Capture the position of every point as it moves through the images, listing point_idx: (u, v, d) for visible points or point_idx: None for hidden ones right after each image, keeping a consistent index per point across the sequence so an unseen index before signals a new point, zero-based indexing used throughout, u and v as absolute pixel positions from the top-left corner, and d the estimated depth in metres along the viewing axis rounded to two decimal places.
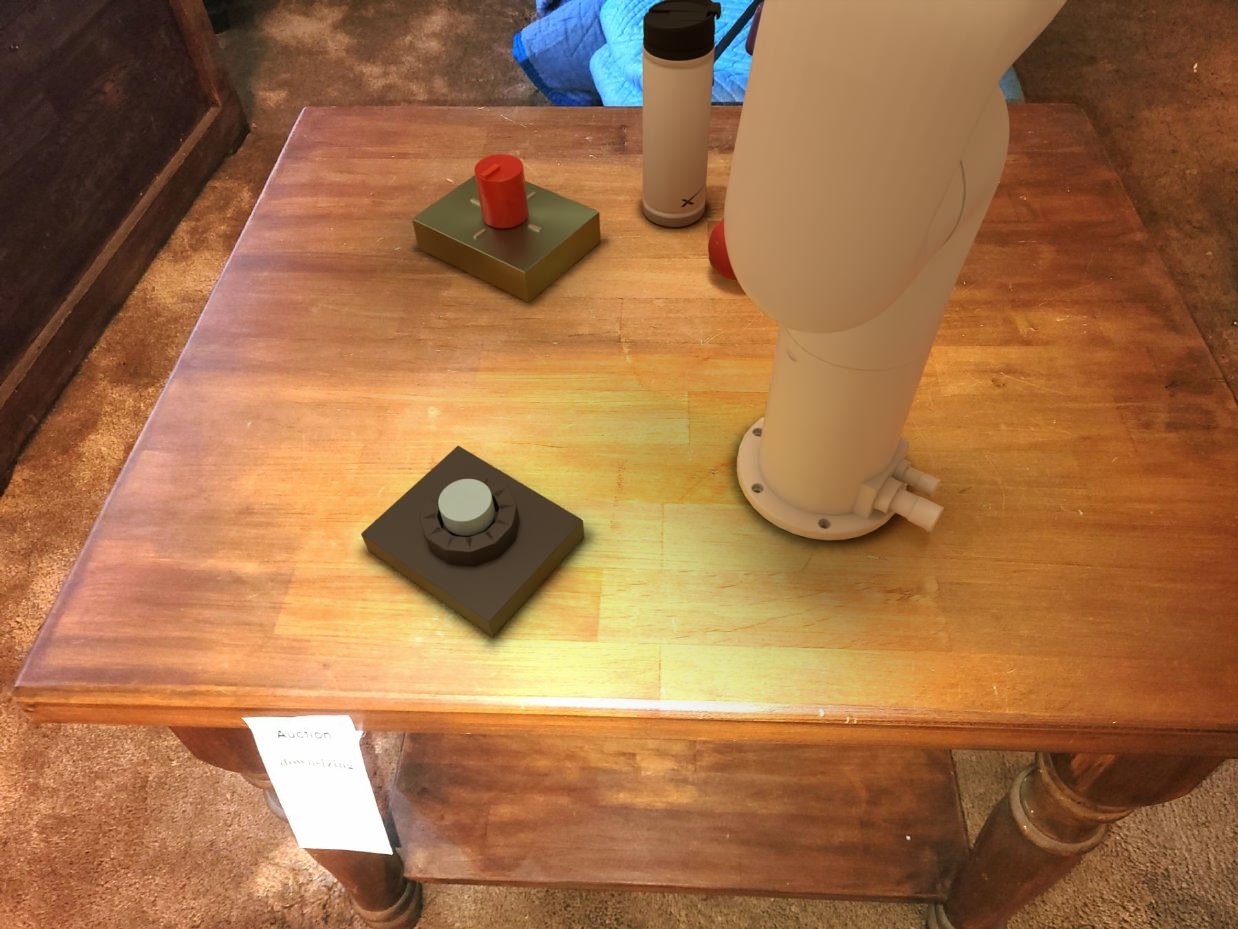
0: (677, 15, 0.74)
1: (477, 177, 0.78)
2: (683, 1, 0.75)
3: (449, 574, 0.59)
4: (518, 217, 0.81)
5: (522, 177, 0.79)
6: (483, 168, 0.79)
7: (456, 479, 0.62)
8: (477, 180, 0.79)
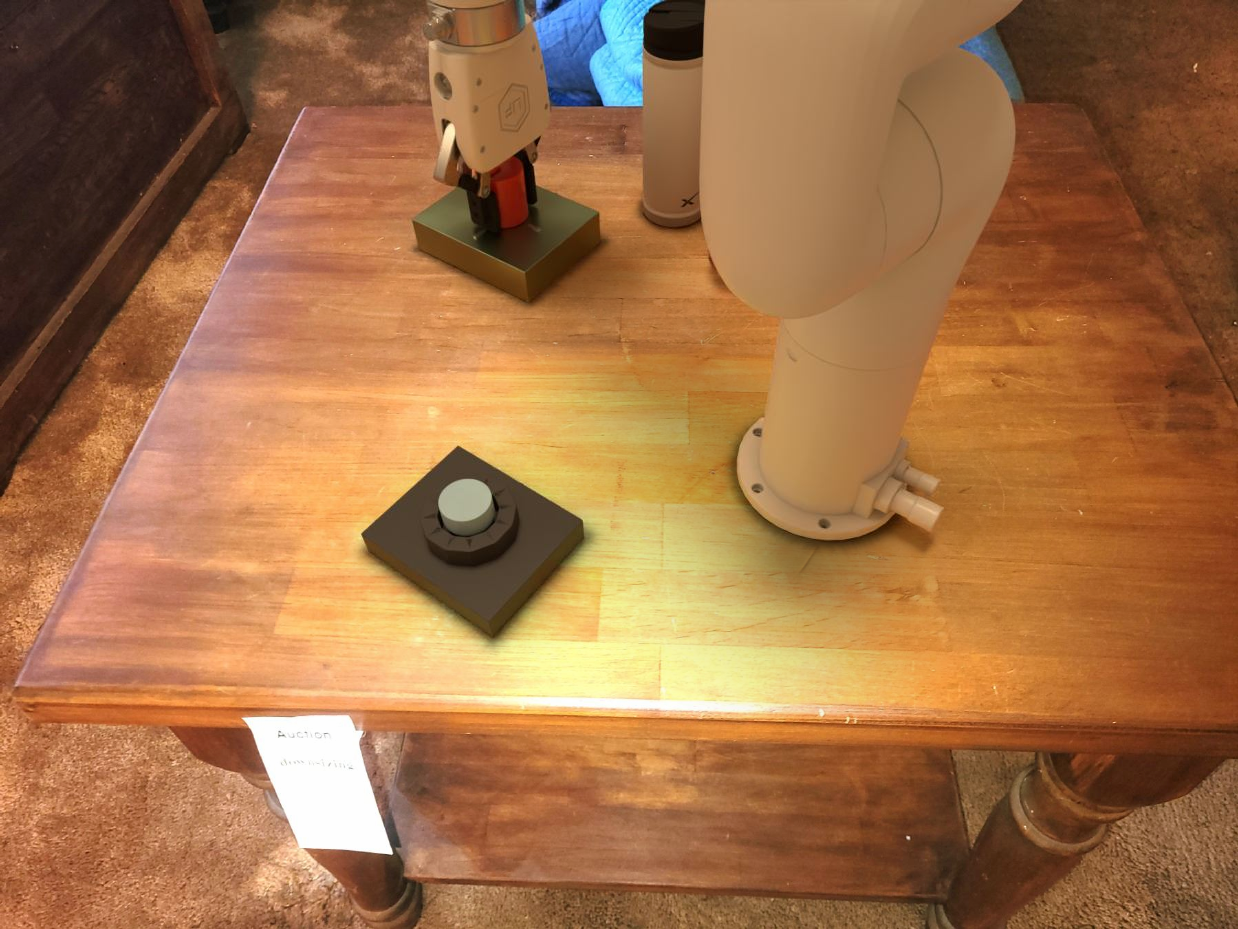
0: (677, 15, 0.74)
1: None
2: (683, 1, 0.75)
3: (449, 574, 0.59)
4: (518, 217, 0.81)
5: (522, 177, 0.79)
6: None
7: (456, 479, 0.62)
8: None
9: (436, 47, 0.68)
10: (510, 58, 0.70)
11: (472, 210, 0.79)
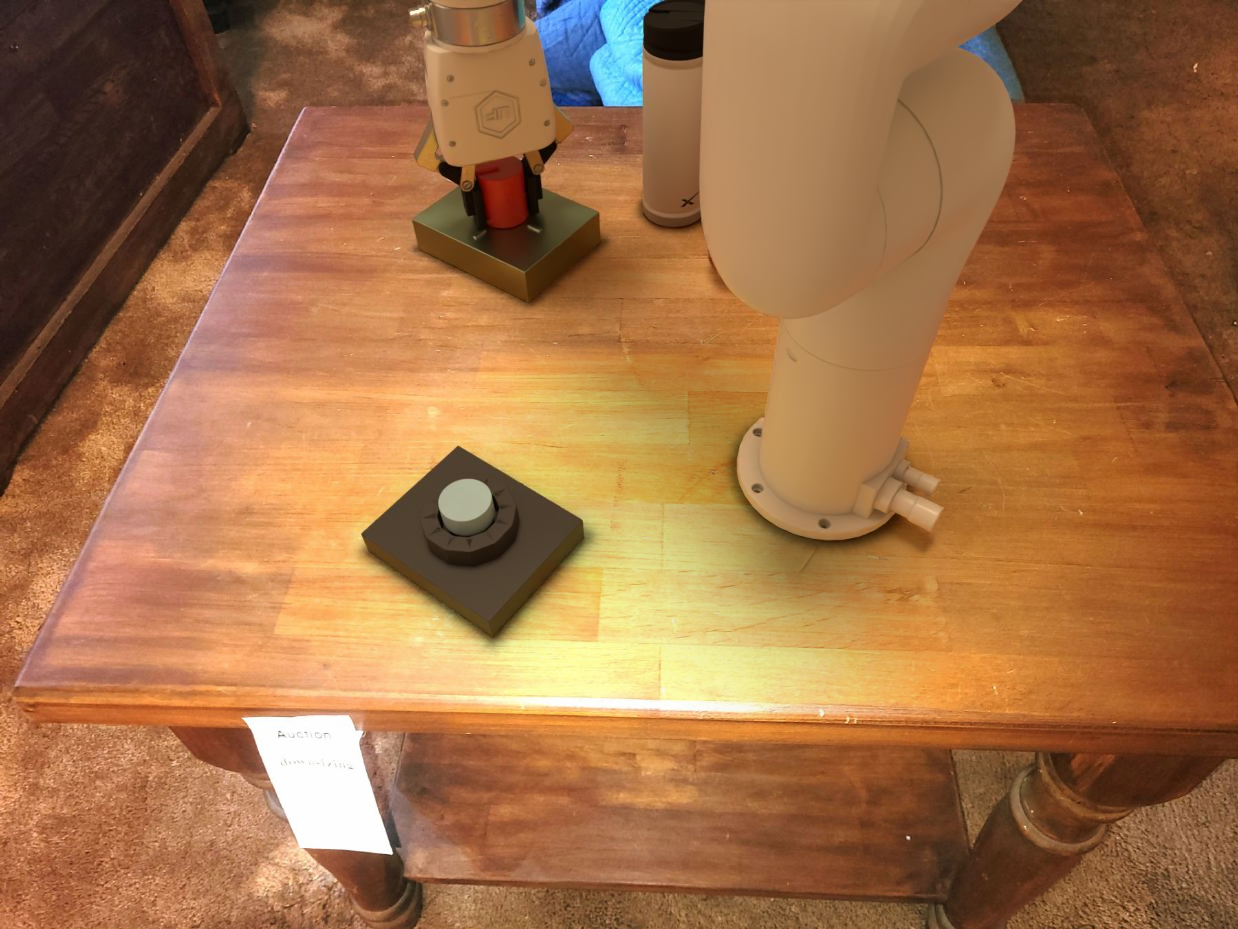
0: (677, 15, 0.74)
1: None
2: (683, 1, 0.75)
3: (449, 574, 0.59)
4: (506, 221, 0.81)
5: (514, 184, 0.78)
6: (485, 163, 0.79)
7: (456, 479, 0.62)
8: None
9: (427, 35, 0.69)
10: (495, 65, 0.69)
11: (463, 199, 0.80)
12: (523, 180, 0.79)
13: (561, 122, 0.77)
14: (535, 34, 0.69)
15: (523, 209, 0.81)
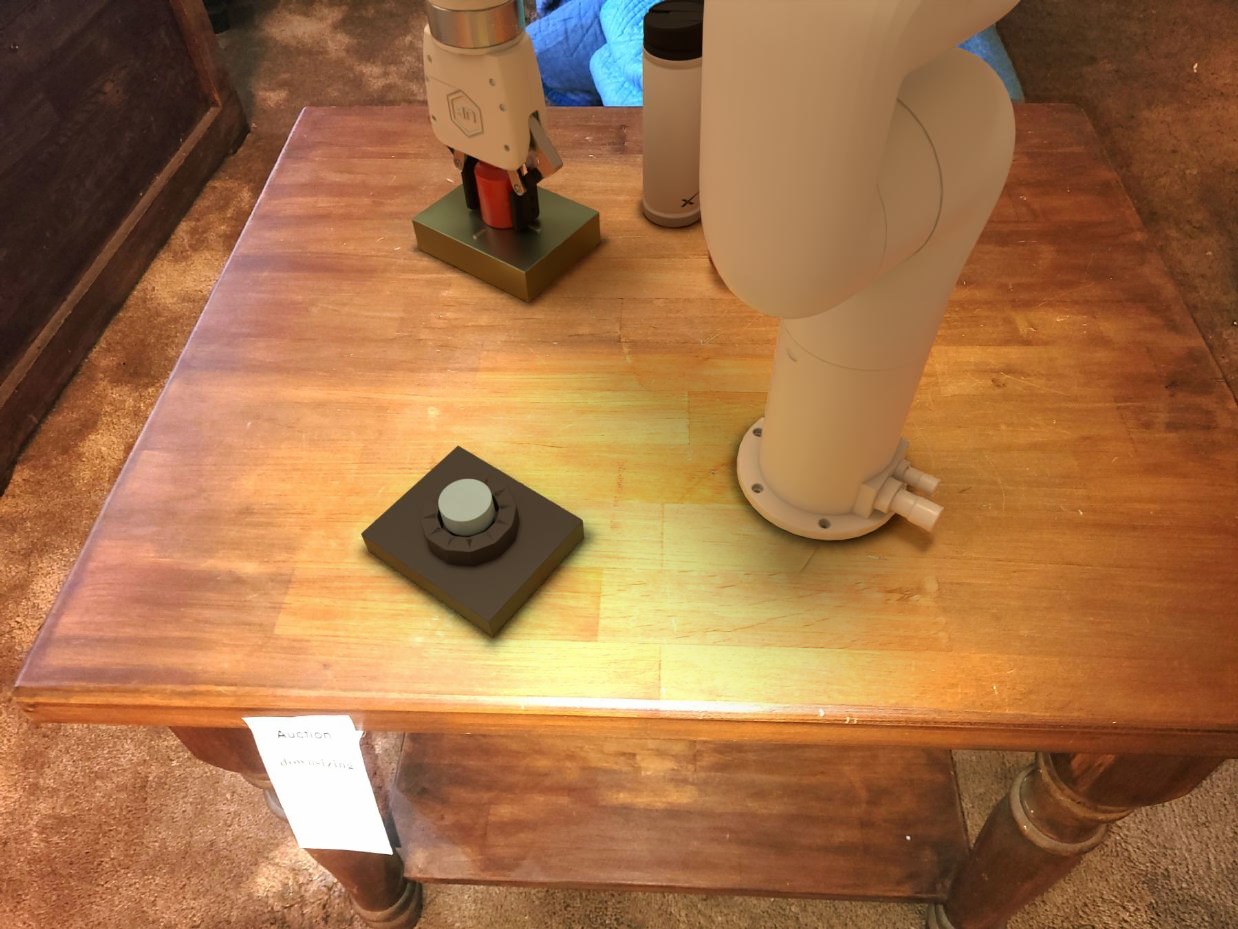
0: (677, 15, 0.74)
1: None
2: (683, 1, 0.75)
3: (449, 574, 0.59)
4: (485, 216, 0.81)
5: (491, 187, 0.78)
6: None
7: (456, 479, 0.62)
8: None
9: None
10: (460, 67, 0.69)
11: None
12: (507, 191, 0.78)
13: (543, 158, 0.74)
14: (499, 58, 0.67)
15: (503, 217, 0.80)
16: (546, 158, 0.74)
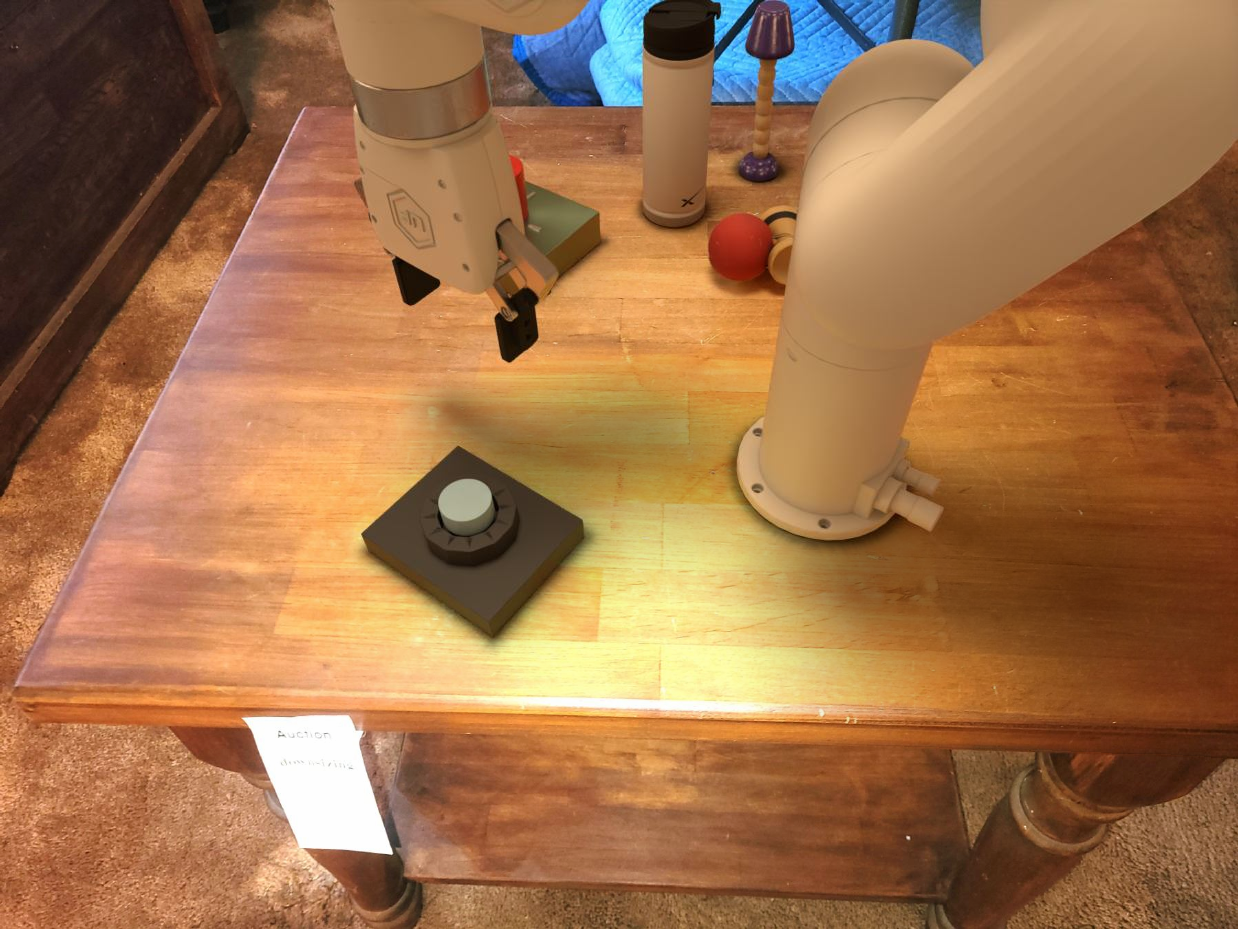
0: (677, 15, 0.74)
1: None
2: (683, 1, 0.75)
3: (449, 574, 0.59)
4: None
5: None
6: None
7: (456, 479, 0.62)
8: None
9: None
10: (400, 161, 0.50)
11: None
12: None
13: (527, 269, 0.52)
14: (450, 154, 0.48)
15: None
16: (530, 267, 0.52)
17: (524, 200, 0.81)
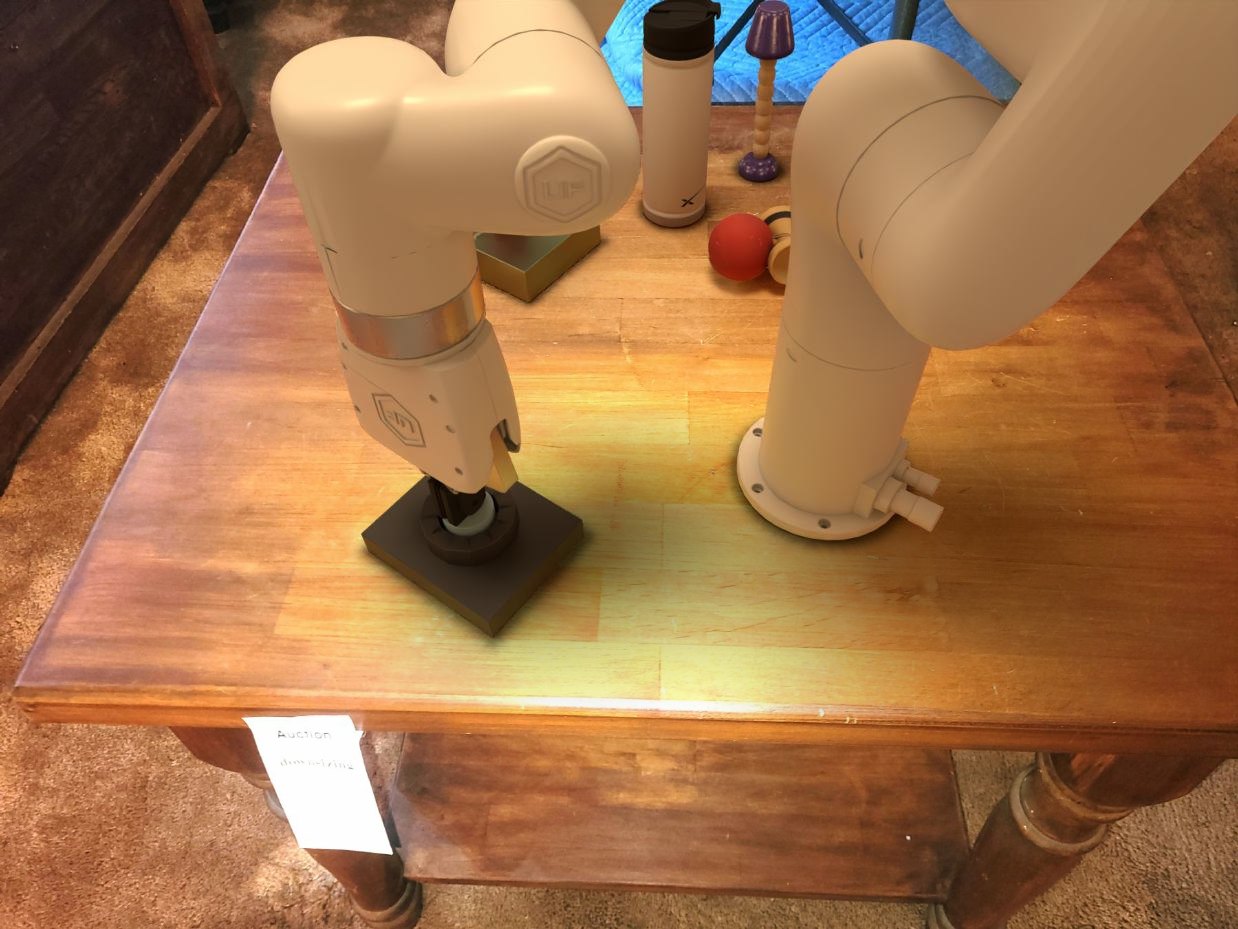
0: (677, 15, 0.74)
1: None
2: (683, 1, 0.75)
3: (449, 574, 0.59)
4: None
5: None
6: None
7: None
8: None
9: None
10: (387, 371, 0.46)
11: None
12: None
13: (493, 475, 0.52)
14: (443, 373, 0.44)
15: None
16: (498, 478, 0.52)
17: None
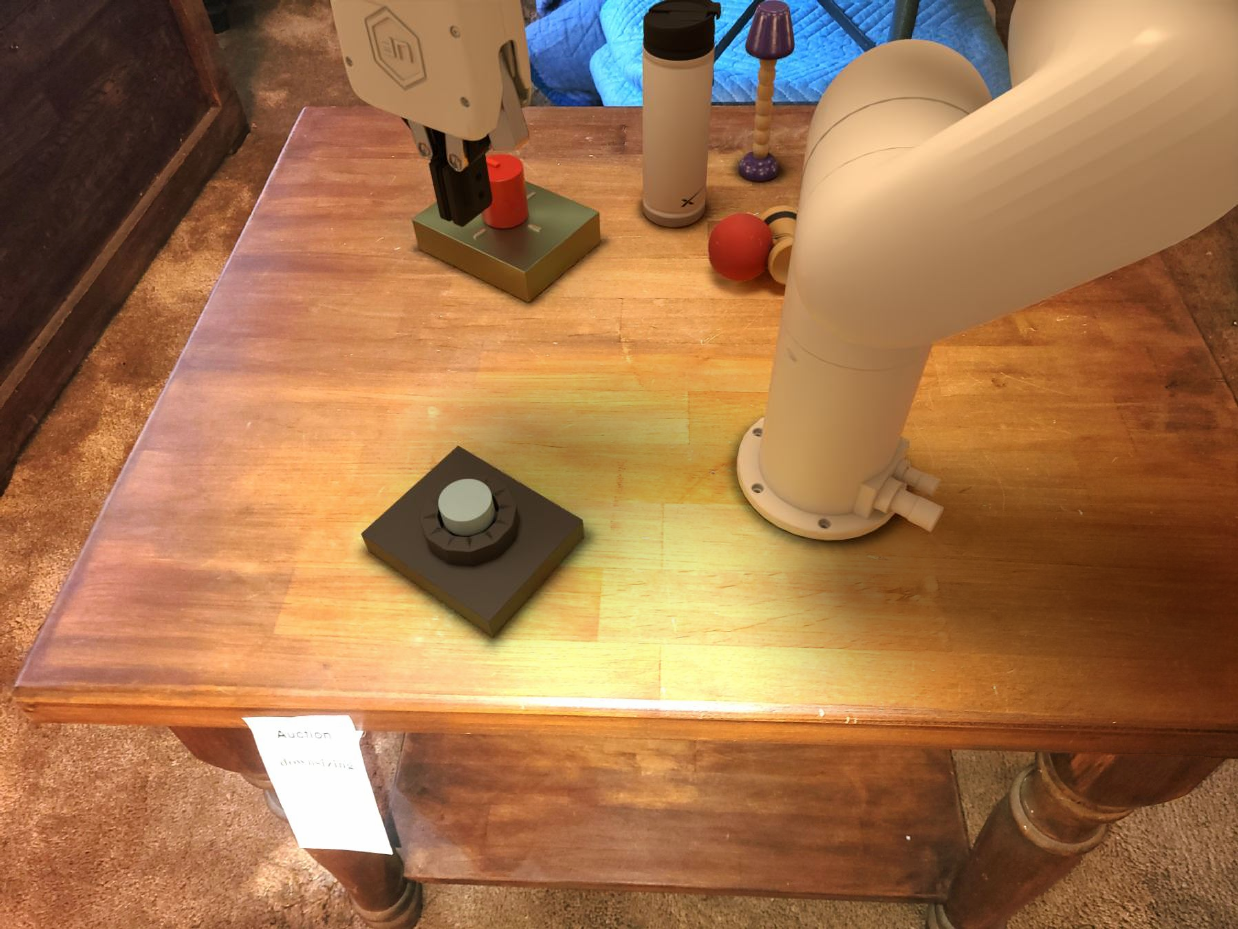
0: (677, 15, 0.74)
1: (487, 158, 0.80)
2: (683, 1, 0.75)
3: (449, 574, 0.59)
4: (485, 216, 0.81)
5: (491, 187, 0.78)
6: (498, 158, 0.80)
7: (456, 479, 0.62)
8: None
9: None
10: None
11: None
12: (507, 191, 0.78)
13: (502, 125, 0.47)
14: None
15: (503, 217, 0.80)
16: (508, 127, 0.47)
17: (524, 200, 0.81)
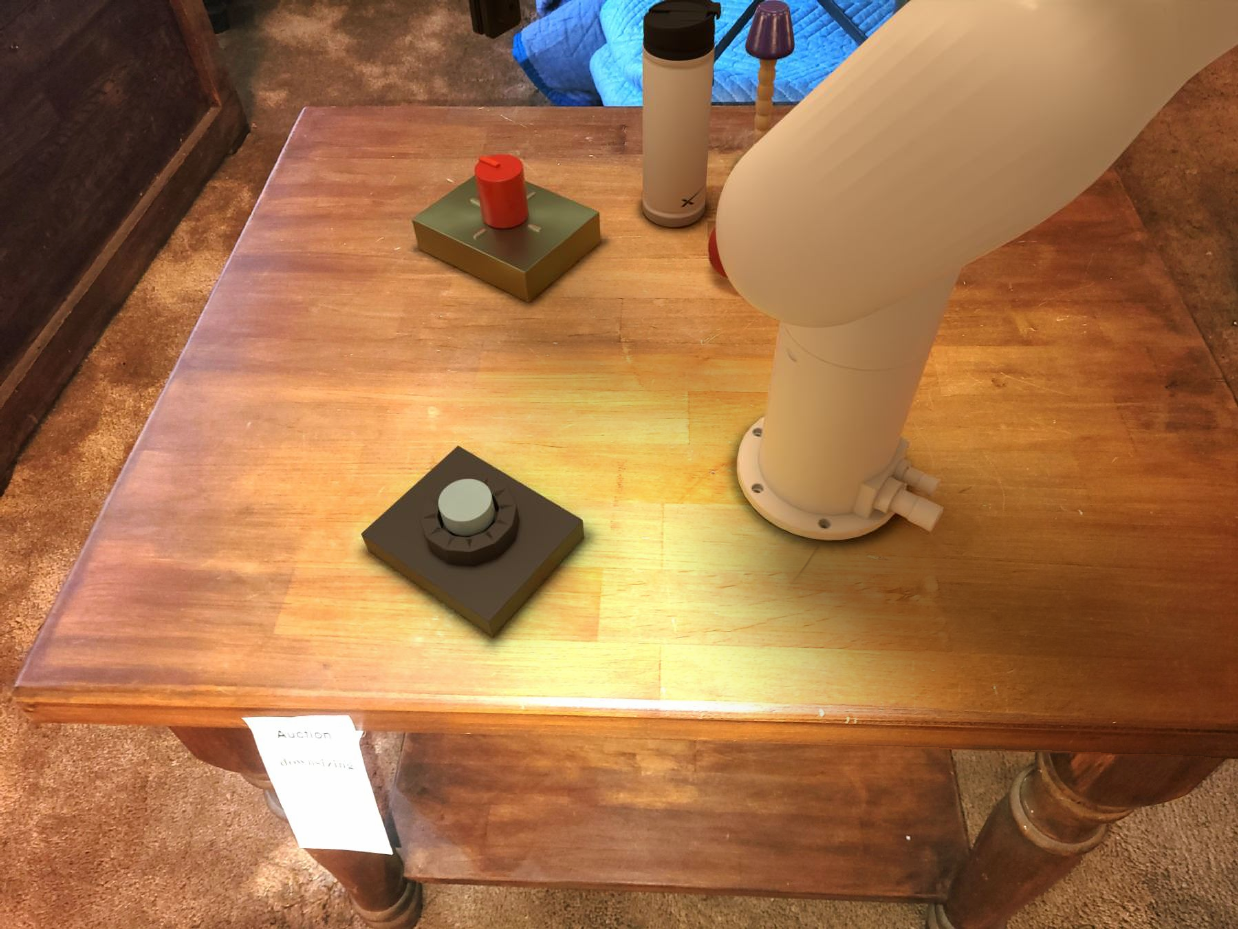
0: (677, 15, 0.74)
1: (487, 158, 0.80)
2: (683, 1, 0.75)
3: (449, 574, 0.59)
4: (485, 216, 0.81)
5: (491, 187, 0.78)
6: (498, 158, 0.80)
7: (456, 479, 0.62)
8: None
9: None
10: None
11: None
12: (507, 191, 0.78)
13: None
14: None
15: (503, 217, 0.80)
16: None
17: (524, 200, 0.81)
